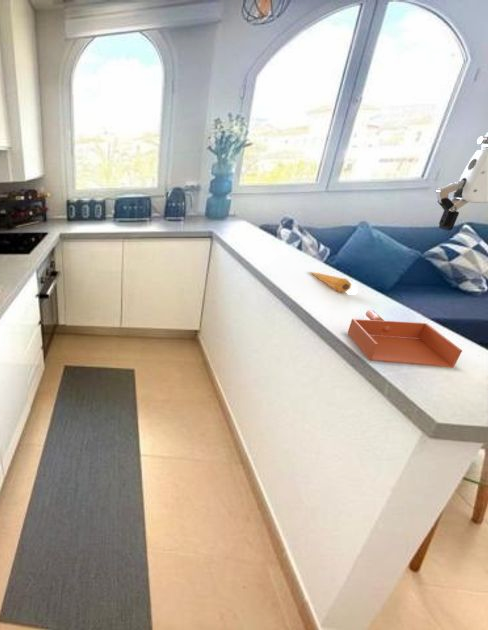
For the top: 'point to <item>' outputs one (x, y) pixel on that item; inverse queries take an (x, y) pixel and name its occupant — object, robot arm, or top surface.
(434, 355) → the dustpan
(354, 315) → the top surface
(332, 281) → the carrot
